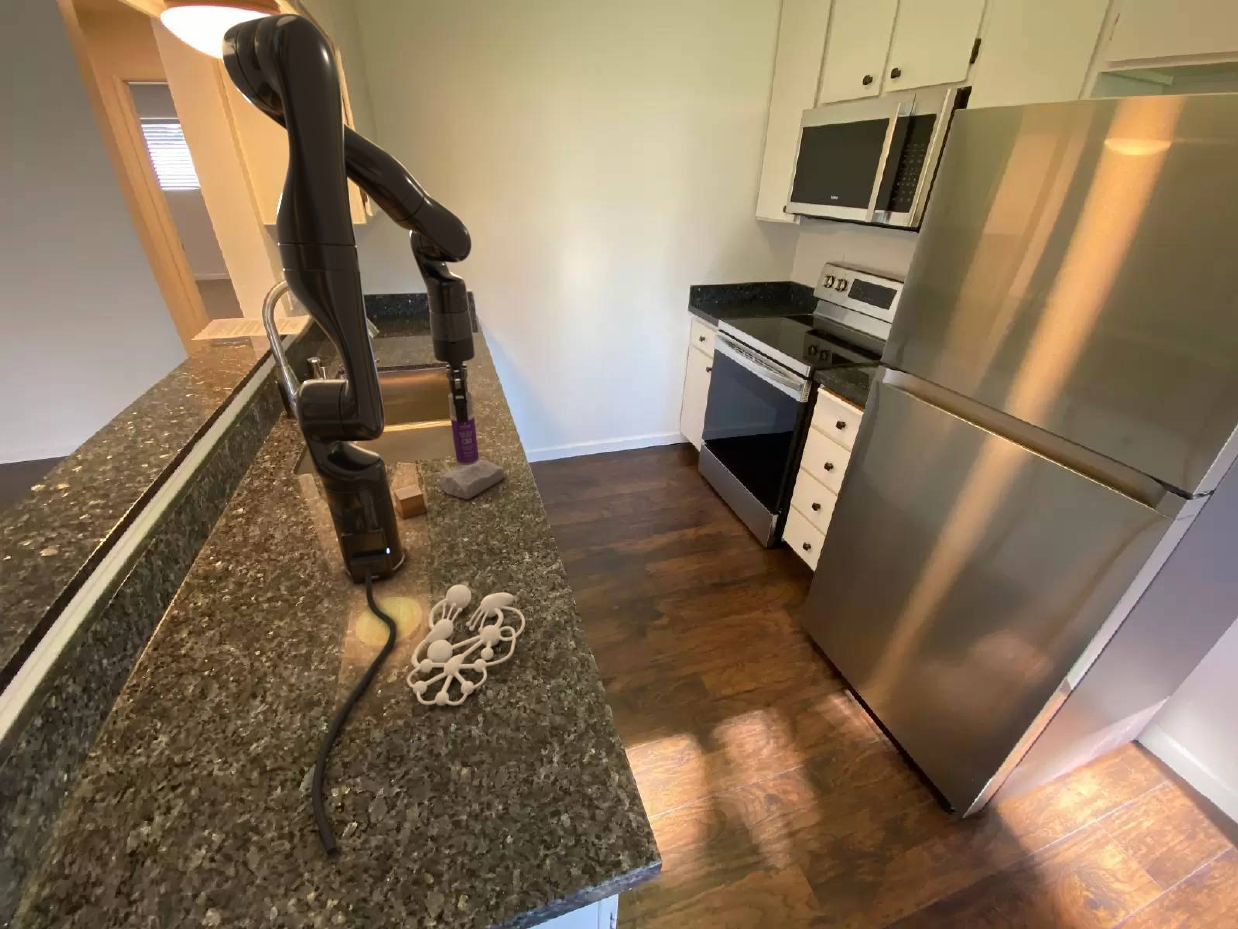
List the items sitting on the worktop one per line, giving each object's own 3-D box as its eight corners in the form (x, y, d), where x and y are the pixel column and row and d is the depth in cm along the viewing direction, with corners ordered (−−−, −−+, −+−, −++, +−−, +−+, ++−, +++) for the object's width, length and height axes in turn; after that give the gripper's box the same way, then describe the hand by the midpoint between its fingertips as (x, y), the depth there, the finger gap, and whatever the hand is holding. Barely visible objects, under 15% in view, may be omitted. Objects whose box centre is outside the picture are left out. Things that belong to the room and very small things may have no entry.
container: (465, 467, 109) (457, 400, 102) (451, 460, 112) (442, 394, 105) (483, 459, 113) (476, 394, 105) (469, 453, 115) (461, 388, 108)
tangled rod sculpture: (488, 725, 65) (488, 705, 63) (380, 701, 67) (376, 680, 64) (534, 612, 82) (535, 593, 80) (447, 594, 83) (445, 575, 81)
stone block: (437, 496, 113) (468, 502, 108) (432, 475, 112) (463, 480, 106) (477, 475, 122) (508, 480, 117) (473, 456, 121) (504, 460, 115)
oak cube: (426, 512, 105) (422, 493, 103) (403, 519, 102) (399, 500, 100) (418, 502, 108) (415, 484, 106) (397, 508, 105) (393, 490, 103)
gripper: (432, 325, 104) (443, 404, 112) (430, 344, 92) (443, 432, 100) (470, 323, 106) (478, 402, 114) (474, 342, 94) (483, 428, 102)
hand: (462, 415), depth 107 cm, fingers closed on container, 4 cm apart
